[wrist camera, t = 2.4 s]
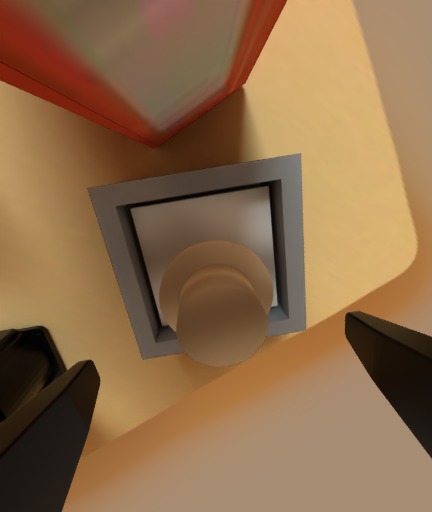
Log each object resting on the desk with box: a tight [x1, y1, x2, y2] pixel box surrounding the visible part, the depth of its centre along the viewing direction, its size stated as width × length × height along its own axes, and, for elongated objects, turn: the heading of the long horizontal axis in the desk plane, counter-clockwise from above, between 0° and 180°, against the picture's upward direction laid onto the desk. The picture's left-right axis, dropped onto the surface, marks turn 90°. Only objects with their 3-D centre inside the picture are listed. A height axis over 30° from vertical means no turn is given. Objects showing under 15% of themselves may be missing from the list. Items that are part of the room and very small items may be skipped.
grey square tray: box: [87, 153, 306, 360], centre depth 18 cm, size 12×12×6 cm
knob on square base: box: [130, 186, 278, 367], centre depth 13 cm, size 9×9×8 cm
